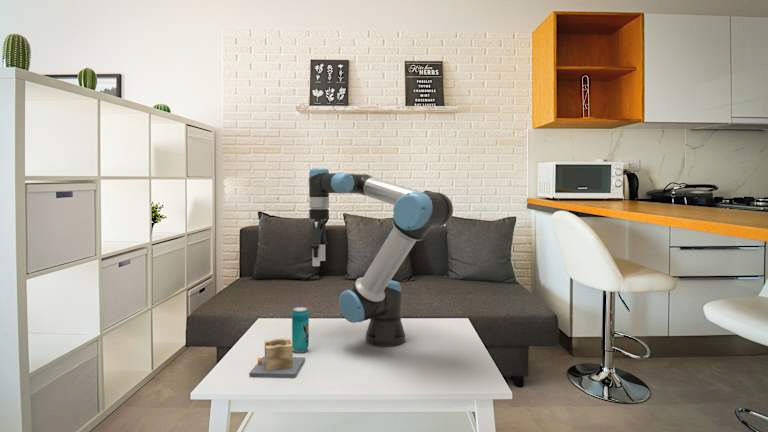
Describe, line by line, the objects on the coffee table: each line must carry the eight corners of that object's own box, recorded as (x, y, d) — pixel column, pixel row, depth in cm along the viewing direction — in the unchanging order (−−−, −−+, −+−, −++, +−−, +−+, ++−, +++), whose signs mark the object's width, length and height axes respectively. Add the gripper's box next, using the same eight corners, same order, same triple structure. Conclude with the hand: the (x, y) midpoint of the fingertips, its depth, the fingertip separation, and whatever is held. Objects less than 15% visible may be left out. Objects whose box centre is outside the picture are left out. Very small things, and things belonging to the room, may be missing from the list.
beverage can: (305, 354, 157) (305, 311, 156) (289, 352, 158) (289, 310, 157) (311, 348, 162) (311, 307, 162) (296, 347, 164) (295, 306, 163)
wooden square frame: (289, 359, 149) (289, 337, 148) (292, 368, 141) (292, 345, 141) (264, 361, 146) (264, 339, 146) (266, 370, 139) (266, 347, 138)
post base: (305, 360, 150) (304, 339, 150) (295, 377, 136) (295, 354, 136) (263, 360, 151) (263, 338, 151) (249, 376, 137) (249, 353, 137)
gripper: (314, 207, 187) (315, 258, 188) (302, 209, 162) (303, 268, 163) (333, 207, 187) (333, 258, 188) (323, 209, 162) (323, 268, 163)
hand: (319, 263), depth 175 cm, fingers open, 13 cm apart
